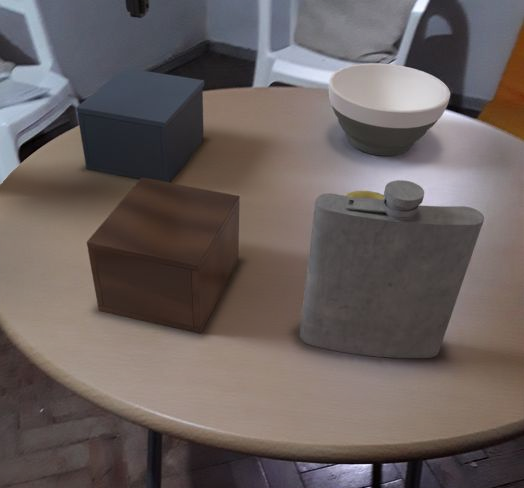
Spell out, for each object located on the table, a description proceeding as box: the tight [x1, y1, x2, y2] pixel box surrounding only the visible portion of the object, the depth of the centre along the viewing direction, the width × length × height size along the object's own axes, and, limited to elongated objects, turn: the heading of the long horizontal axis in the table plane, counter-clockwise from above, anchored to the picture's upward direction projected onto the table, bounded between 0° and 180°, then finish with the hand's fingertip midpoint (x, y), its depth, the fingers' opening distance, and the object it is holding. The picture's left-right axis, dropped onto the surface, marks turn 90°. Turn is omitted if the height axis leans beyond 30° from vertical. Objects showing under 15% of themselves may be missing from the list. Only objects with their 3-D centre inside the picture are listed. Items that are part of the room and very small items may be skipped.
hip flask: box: [298, 179, 485, 359], centre depth 64 cm, size 16×4×20 cm, turn 84°
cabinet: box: [86, 178, 241, 334], centre depth 74 cm, size 15×13×10 cm
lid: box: [75, 67, 205, 128], centre depth 95 cm, size 16×14×1 cm
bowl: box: [328, 62, 451, 157], centre depth 105 cm, size 20×20×10 cm
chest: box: [76, 87, 204, 183], centre depth 98 cm, size 16×14×9 cm
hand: (138, 15), depth 87 cm, fingers closed
